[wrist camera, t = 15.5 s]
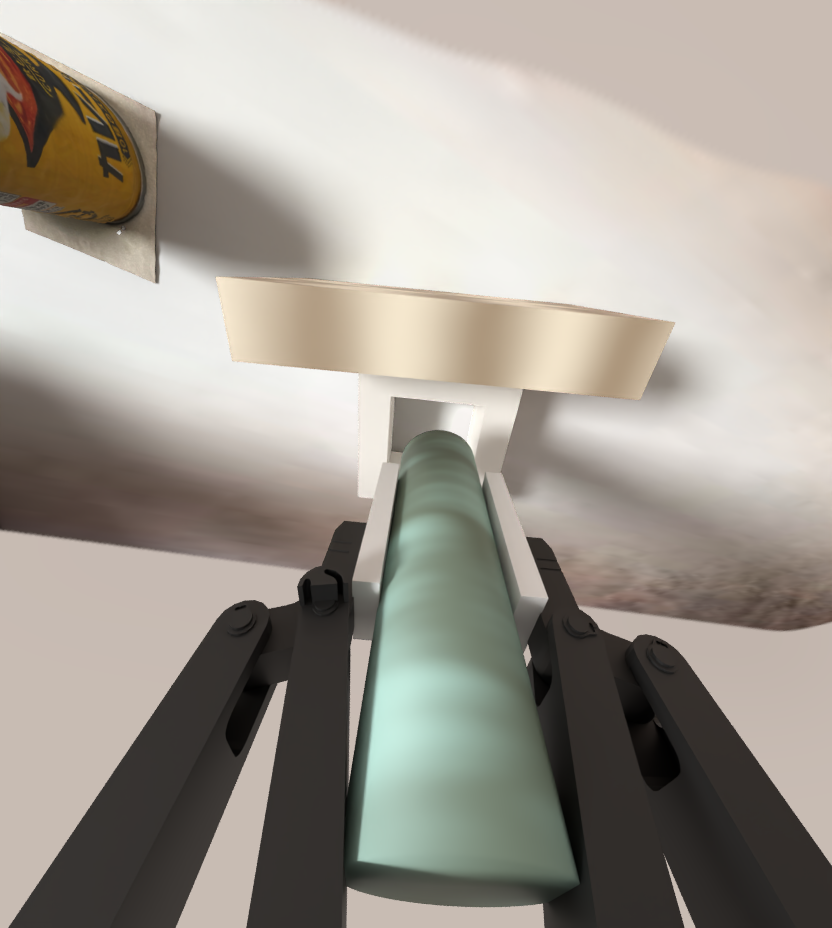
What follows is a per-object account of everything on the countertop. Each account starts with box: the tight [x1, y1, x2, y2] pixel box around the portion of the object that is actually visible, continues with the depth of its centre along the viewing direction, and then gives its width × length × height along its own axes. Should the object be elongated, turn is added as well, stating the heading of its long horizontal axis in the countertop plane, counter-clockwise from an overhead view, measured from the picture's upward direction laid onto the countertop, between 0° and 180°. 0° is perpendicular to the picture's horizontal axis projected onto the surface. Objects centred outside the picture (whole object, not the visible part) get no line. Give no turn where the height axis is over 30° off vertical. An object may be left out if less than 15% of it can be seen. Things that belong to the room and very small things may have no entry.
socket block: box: [358, 373, 523, 499], centre depth 23 cm, size 10×10×4 cm
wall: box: [216, 277, 675, 400], centre depth 17 cm, size 17×3×10 cm, turn 85°
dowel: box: [344, 430, 580, 907], centre depth 11 cm, size 4×4×14 cm
